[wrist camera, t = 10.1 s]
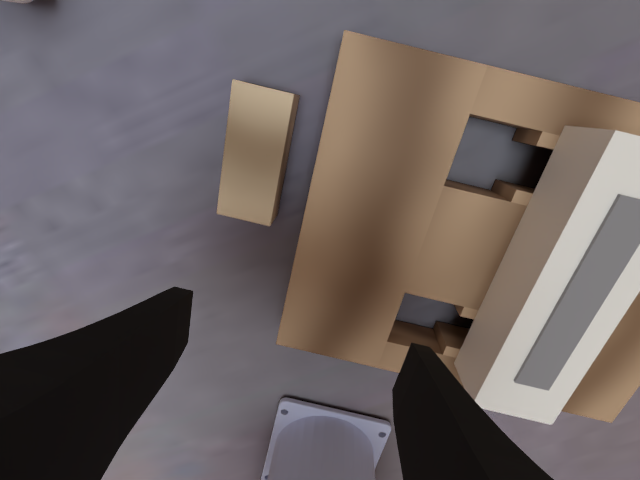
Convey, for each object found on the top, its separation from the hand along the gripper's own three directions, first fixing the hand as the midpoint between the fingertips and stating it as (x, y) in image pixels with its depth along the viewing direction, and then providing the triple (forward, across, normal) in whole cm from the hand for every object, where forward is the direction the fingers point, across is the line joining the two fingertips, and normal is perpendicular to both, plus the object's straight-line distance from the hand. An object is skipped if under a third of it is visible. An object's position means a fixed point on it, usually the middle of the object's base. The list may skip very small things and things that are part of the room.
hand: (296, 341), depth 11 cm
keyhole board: (+9, -9, -2) cm, 13 cm away
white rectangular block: (+9, -11, -2) cm, 14 cm away
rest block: (+9, +4, -4) cm, 11 cm away
